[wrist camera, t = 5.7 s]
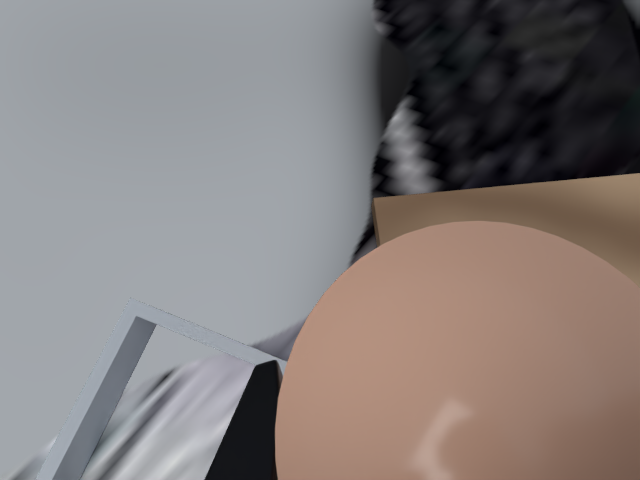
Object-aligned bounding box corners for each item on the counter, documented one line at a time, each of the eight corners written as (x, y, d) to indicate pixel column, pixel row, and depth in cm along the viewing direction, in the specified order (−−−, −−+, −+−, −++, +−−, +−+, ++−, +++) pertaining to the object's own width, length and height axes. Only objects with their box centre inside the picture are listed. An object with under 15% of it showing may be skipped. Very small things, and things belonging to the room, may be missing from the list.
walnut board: (775, 586, 18) (802, 599, 17) (432, 628, 17) (438, 642, 16) (635, 180, 23) (649, 172, 22) (371, 205, 23) (373, 198, 22)
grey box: (350, 387, 20) (354, 389, 18) (260, 643, 17) (250, 686, 15) (152, 306, 21) (130, 297, 19) (36, 534, 18) (-6, 557, 16)
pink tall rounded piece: (455, 496, 13) (774, 775, 4) (294, 469, 14) (231, 670, 4) (463, 333, 15) (707, 250, 5) (318, 311, 15) (312, 196, 6)
